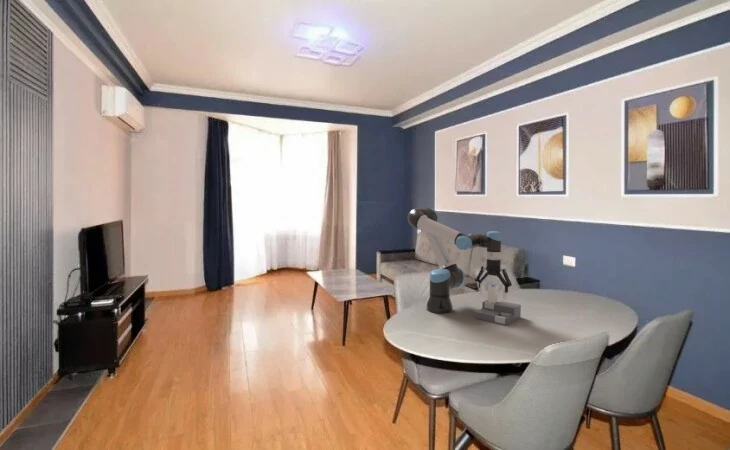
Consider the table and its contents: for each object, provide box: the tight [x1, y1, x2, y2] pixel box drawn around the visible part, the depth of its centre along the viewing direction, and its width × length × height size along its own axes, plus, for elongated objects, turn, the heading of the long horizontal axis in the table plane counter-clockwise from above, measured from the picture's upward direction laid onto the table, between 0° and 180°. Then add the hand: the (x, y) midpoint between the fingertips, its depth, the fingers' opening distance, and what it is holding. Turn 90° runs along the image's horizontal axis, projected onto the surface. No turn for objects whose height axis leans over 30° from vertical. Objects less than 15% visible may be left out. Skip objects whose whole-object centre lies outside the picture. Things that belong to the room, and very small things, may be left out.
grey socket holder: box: [474, 299, 522, 326], centre depth 205 cm, size 18×18×7 cm
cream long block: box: [487, 283, 499, 304], centre depth 211 cm, size 4×4×13 cm
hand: (492, 296), depth 211 cm, fingers open, 13 cm apart
